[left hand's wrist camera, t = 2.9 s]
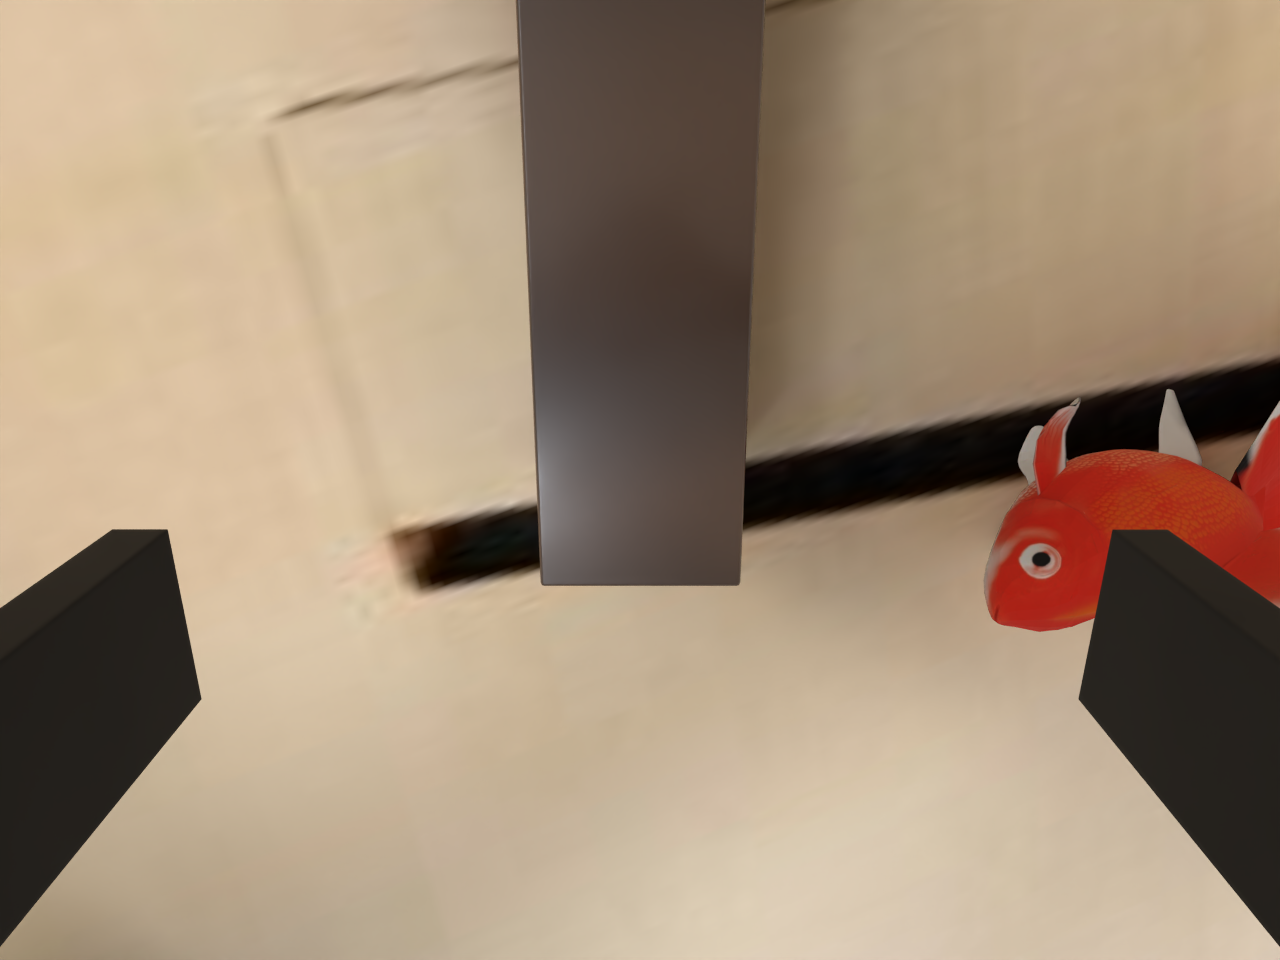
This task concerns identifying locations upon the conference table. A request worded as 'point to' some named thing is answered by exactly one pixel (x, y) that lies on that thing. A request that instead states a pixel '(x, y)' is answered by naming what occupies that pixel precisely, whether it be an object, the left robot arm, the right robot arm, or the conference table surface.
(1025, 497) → the fish
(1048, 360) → the conference table surface
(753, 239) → the plank
